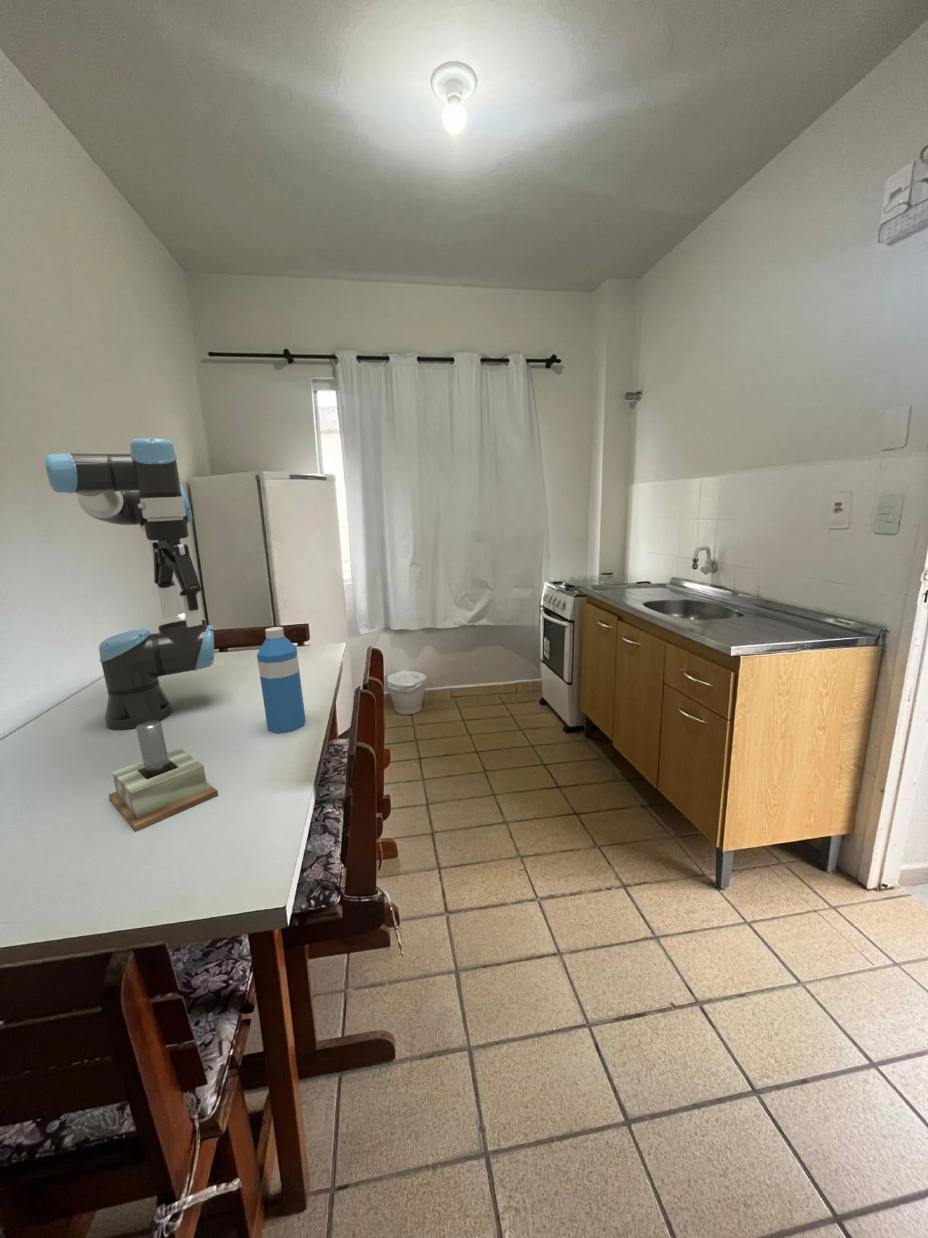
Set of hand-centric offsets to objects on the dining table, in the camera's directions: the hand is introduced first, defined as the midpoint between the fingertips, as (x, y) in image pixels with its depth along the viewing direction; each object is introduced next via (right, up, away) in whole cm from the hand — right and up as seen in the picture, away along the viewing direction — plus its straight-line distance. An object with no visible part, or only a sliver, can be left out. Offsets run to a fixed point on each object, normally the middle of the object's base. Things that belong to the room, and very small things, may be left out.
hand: (182, 621), depth 109 cm
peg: (+2, -33, -11) cm, 35 cm away
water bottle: (+15, -27, +20) cm, 36 cm away
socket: (+2, -34, -10) cm, 36 cm away
